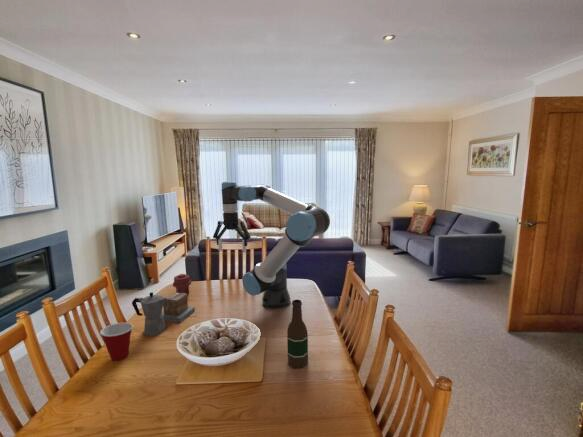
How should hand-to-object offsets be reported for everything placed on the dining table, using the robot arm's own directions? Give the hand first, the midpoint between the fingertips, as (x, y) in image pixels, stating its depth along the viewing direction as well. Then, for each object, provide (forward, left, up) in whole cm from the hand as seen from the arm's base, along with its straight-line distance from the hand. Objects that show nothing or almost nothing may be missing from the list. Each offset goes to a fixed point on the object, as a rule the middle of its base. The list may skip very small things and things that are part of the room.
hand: (232, 251), depth 153 cm
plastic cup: (+24, +53, -29) cm, 65 cm away
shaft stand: (+23, +19, -29) cm, 41 cm away
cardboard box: (+23, +19, -27) cm, 40 cm away
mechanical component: (+34, -3, -29) cm, 45 cm away
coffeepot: (+25, +34, -29) cm, 51 cm away
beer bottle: (-44, +42, -29) cm, 67 cm away
